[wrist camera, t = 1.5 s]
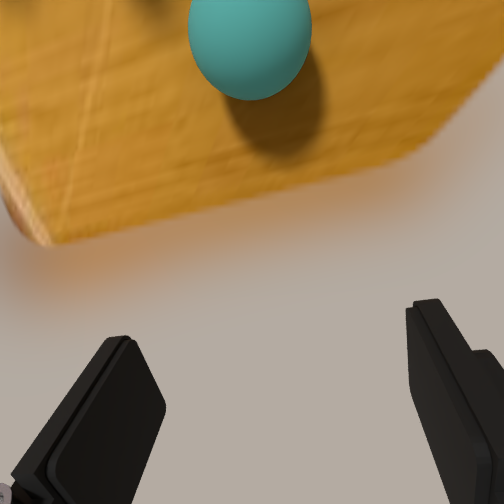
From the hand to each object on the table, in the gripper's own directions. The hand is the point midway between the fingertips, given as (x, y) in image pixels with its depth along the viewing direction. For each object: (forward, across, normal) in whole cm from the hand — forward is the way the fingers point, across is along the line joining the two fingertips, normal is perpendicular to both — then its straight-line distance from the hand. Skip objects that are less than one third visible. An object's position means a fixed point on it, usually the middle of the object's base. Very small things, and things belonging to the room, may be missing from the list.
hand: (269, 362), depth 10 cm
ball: (+13, 0, -9) cm, 16 cm away
